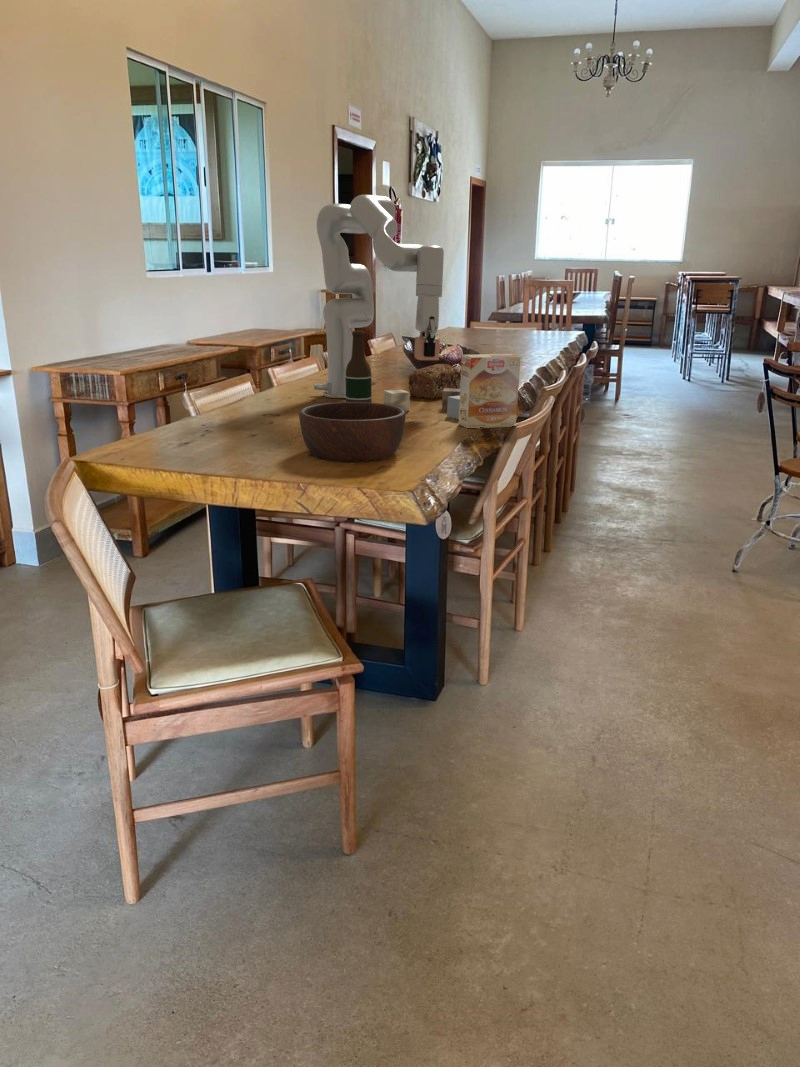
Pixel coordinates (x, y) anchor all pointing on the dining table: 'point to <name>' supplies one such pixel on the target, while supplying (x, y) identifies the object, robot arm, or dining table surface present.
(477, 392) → the coffeecake box
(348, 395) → the beer bottle
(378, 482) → the dining table surface
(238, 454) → the dining table surface
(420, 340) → the terracotta block
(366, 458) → the wooden bowl
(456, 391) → the walnut block
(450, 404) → the slate block
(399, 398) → the beech block
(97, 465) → the dining table surface
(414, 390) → the bread
